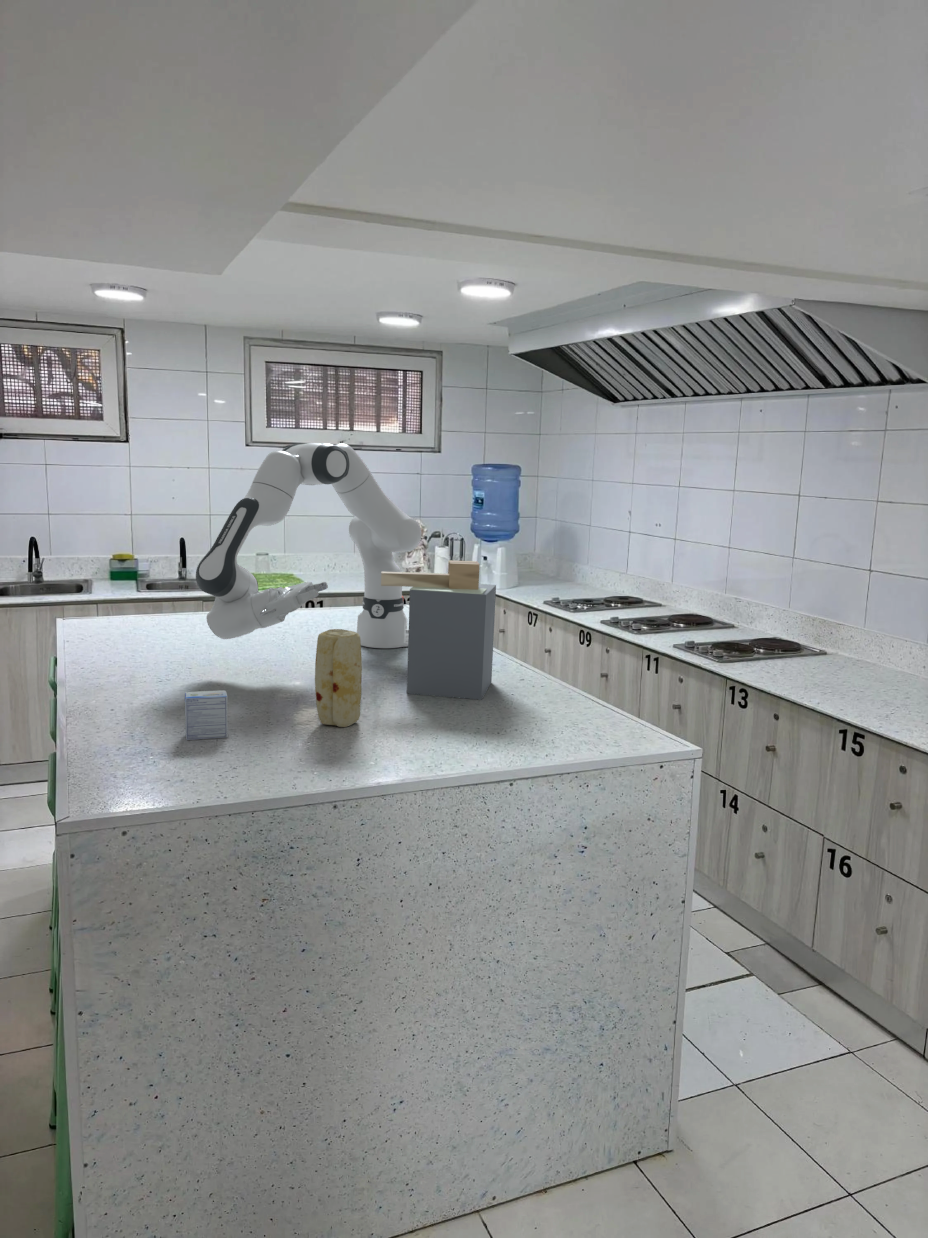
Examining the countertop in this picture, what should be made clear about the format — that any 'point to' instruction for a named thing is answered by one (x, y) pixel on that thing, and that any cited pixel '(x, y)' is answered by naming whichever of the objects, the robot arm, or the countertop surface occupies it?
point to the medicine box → (206, 715)
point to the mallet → (437, 577)
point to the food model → (338, 677)
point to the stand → (451, 641)
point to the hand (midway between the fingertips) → (322, 588)
